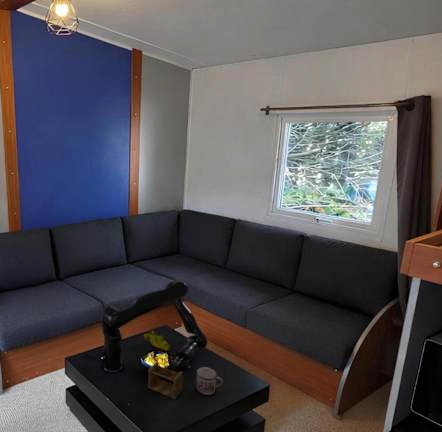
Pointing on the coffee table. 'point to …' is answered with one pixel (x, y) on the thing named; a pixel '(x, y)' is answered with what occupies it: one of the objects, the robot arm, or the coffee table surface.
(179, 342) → the coffee table surface
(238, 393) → the coffee table surface
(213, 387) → the teacup with lid
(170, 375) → the wooden caddy
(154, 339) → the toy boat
